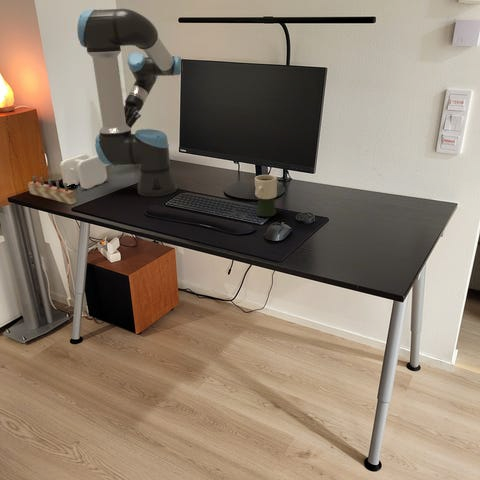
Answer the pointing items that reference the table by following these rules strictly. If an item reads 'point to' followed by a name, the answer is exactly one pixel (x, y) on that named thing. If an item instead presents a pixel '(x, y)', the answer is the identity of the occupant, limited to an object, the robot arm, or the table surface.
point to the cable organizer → (83, 171)
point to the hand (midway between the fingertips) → (112, 144)
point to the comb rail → (52, 191)
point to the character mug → (266, 194)
